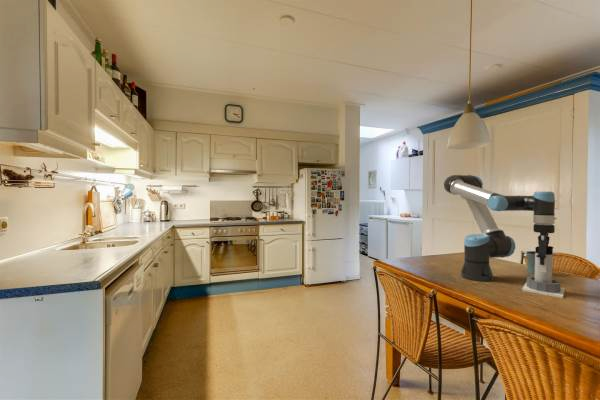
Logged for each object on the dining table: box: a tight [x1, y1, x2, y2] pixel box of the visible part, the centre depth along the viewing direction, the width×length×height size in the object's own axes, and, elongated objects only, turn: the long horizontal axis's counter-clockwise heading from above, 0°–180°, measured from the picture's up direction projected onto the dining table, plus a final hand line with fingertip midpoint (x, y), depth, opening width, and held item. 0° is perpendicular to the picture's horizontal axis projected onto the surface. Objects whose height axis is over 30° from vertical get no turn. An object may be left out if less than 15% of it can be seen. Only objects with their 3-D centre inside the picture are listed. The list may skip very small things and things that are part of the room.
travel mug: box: [534, 245, 554, 283], centre depth 132 cm, size 6×7×20 cm
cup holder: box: [521, 275, 565, 299], centre depth 132 cm, size 14×14×5 cm
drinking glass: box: [525, 250, 536, 275], centre depth 162 cm, size 10×10×12 cm
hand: (543, 269), depth 132 cm, fingers open, 13 cm apart
